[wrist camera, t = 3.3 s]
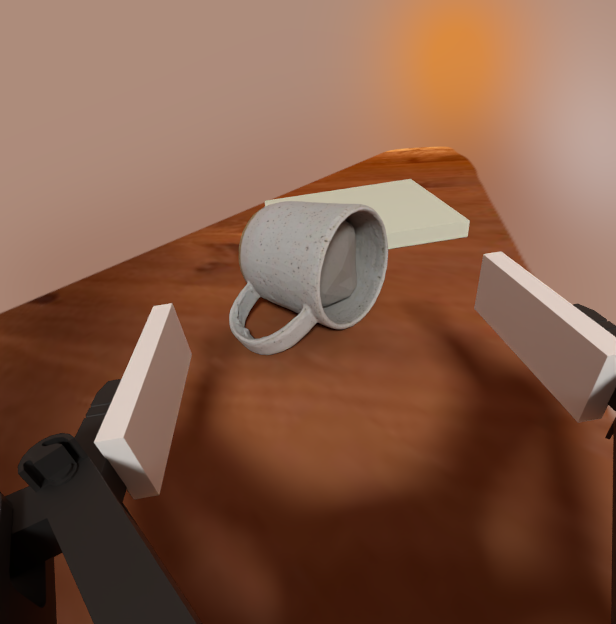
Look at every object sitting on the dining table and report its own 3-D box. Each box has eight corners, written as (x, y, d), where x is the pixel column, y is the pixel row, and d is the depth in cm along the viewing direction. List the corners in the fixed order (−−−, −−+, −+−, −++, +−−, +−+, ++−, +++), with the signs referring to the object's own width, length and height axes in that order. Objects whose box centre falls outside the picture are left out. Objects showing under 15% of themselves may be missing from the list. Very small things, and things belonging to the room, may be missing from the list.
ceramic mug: (306, 269, 32) (292, 178, 27) (391, 294, 27) (391, 189, 23) (208, 336, 26) (171, 233, 21) (296, 384, 21) (271, 263, 16)
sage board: (271, 267, 33) (268, 252, 32) (267, 212, 45) (264, 200, 44) (467, 236, 33) (469, 220, 33) (410, 191, 46) (410, 178, 45)
